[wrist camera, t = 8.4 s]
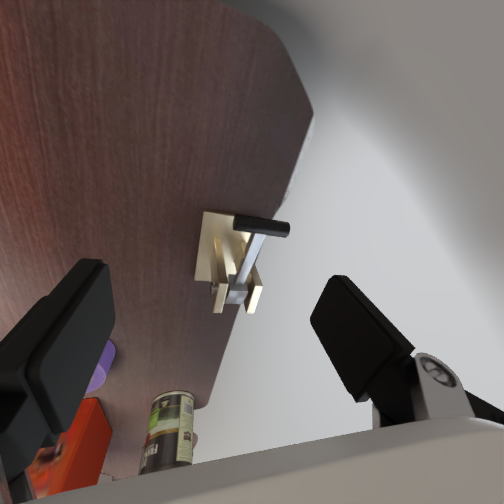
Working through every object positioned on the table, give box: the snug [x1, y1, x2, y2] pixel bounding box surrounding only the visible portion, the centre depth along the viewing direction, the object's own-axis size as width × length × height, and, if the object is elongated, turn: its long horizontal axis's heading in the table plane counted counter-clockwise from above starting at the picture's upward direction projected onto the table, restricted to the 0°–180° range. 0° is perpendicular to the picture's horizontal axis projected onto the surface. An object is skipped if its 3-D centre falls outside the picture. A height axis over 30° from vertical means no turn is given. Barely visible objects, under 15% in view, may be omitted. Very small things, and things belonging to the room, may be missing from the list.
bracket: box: [194, 209, 263, 313], centre depth 29 cm, size 12×9×12 cm
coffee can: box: [140, 391, 194, 475], centre depth 48 cm, size 10×10×14 cm
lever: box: [225, 214, 290, 304], centre depth 22 cm, size 12×5×2 cm, turn 166°
